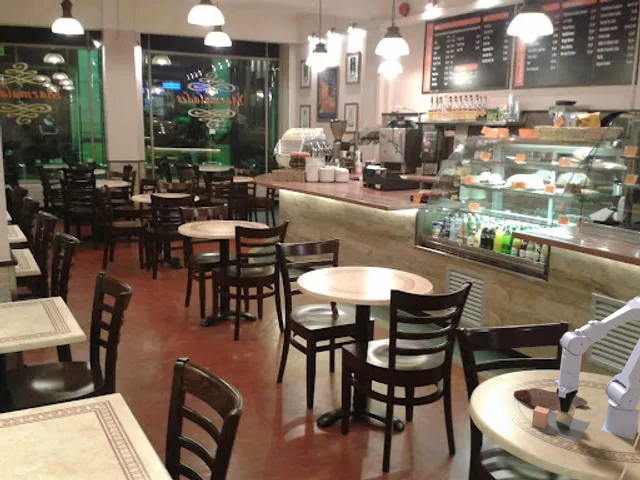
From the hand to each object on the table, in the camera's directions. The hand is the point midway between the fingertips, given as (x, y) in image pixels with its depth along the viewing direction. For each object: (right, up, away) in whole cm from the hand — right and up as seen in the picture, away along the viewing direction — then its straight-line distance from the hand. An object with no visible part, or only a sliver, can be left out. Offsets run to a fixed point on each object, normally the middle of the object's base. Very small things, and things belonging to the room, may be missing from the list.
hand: (564, 411), depth 196 cm
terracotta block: (-7, -5, +3) cm, 9 cm away
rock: (+3, -3, +21) cm, 22 cm away
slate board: (0, -6, +4) cm, 7 cm away
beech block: (0, -5, +1) cm, 5 cm away
